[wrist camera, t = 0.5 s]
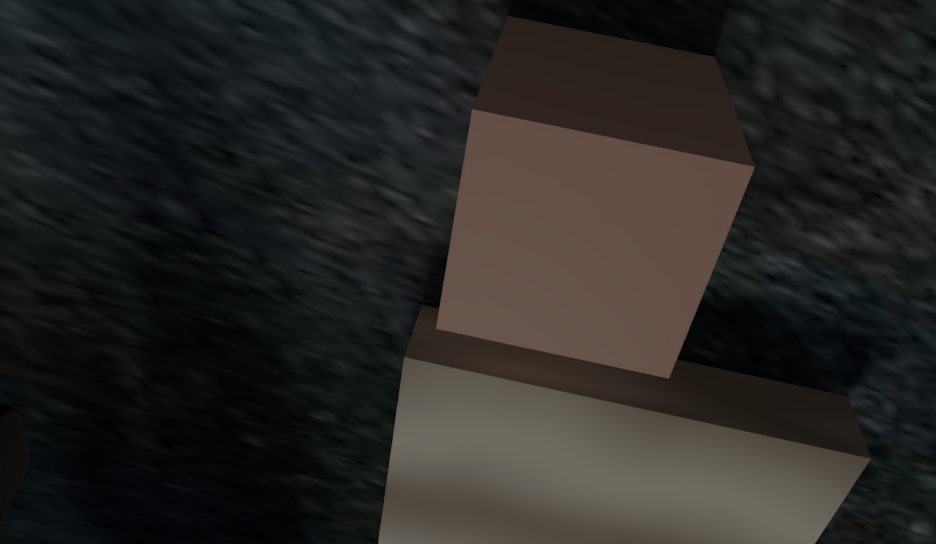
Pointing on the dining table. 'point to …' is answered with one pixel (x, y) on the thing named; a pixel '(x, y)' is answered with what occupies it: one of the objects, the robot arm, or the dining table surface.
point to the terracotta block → (592, 197)
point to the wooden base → (607, 451)
